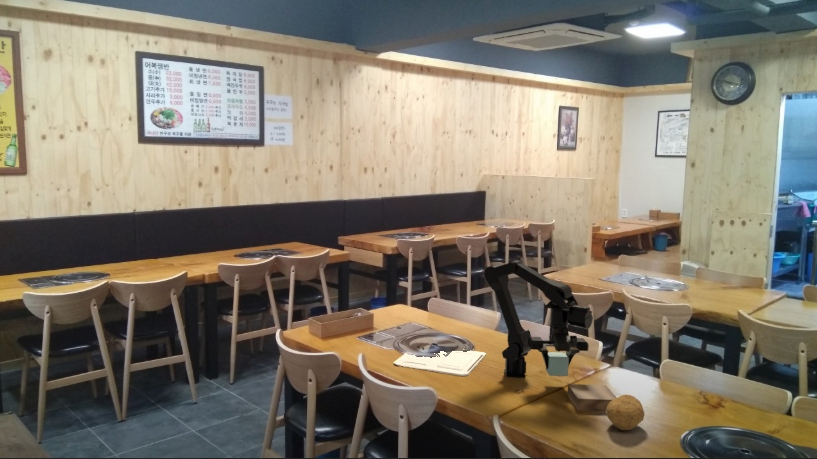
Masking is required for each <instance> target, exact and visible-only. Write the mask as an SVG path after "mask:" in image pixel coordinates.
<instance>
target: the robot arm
mask: <svg viewBox="0 0 817 459" xmlns="http://www.w3.org/2000/svg"><path fill="white" fill-rule="evenodd" d="M512 274H514V275H516V276H517V277H519V278H521V279H522V280H524V281H525V282H526V283H529V284H530V285H532V287H535V288H537V289H538V290H539V291H541V292H542V293H543V295H544V297H546V299H548V300H549V302H547V304H545V305H544V308H546V309H550V316H549V318H550V319H549V333H548V334H549V335H548V339H543V338H542V337H541V336H531V330H530V329H528V330H526V329H524V327H522V324H521V321H520V319H519V316H518V313H517V310H516V307H515V304H514V301H513V298H512V295H511V293H510V289H509V283H510V282H509V281H510V279H509V278H510V277H509V276H510V275H512ZM483 277H484V280H485V282H486V283H487V285H488V286H489V288H490V289H491V290H493V292H494V293H495V296H496V299H497V303H498V305H499V309H500V311H501V315H502V316H503V320H504V323H505V325H506V328H507V345H508V346H507V347H506V348H505V349H504V350H502V351H501V354H502V358H503V359H505V364H504V365H505V366H504V369H503V371H504V373H505V376H506V377H511V378H512V377H513V378H514V377H515V378H525V377H526V373H527V361H526V357H527V356H528V354H529V353H530V352H531V351H532V350H533V351H534V350H537V351H538V352H540V353H541V356H542V358H543V362H544V366H545V370H546V369H548V352H549V349H547V348H548V347H554V349H555V351H556V352H566V353H565V354H566V355H567V357H568V358H569V364H568V368H569V367H570V364H571V363H572V360H573V358H574V356H576V354H580V352H589V342H587V340H586V339H585V338H583V337H577V335H570V334H569V325H570V326H572V327H577V328H582V329H585V330H586V329H587V330H589V329H590V328H591V327H592V323H593V319H594V318H593V313H592V311H591V307H590V306H581V305H579V303H578V301H577V299H576V298H575V296H574V295H573V291H572V288H571V287H570V286H569V285H568V284H565V283H564V282H561V281H558V280H553V279H550V278H548V277H546V276H544V275H543V274H541V273H539V272H538V271H537V270H535V269H533V268H531V267H530V266H527V265H526V264H524V263H523V262H522V261H521V260H512V261H510V262H508V263H506V264H494V265H490V266H487V267H486V268H485V270H484V271H483Z"/></svg>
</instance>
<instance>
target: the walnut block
mask: <svg viewBox="0 0 817 459" xmlns="http://www.w3.org/2000/svg"><path fill="white" fill-rule="evenodd" d="M567 397H568V399H570V401H571V403H572V405H573V406H574V407H575V409H576V410H577V411H581V410H583V412H584V411H586V412H606V408H607V405H608V404H609V403H610V401H612V400H613V399H616V398H617V396H616V395H615V394H614V392H612V391H611V389H610V388H609V387H608V386H607V384H581V383H580V384H573V383H568V384H567Z"/></svg>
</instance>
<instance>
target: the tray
mask: <svg viewBox="0 0 817 459" xmlns="http://www.w3.org/2000/svg"><path fill="white" fill-rule="evenodd" d="M406 353H407V352H406ZM406 353H404V354H402V355H401V356H400V357H399V358H397V359H396V360H395V361H393V365H394V364H395V366H396V365H397V366H398V367H401V366H403V367H402V368H407V367H409V368H408V369H413V368H415V369H414V370H420V369H421V370H420V371H426V370H427V371H428V372H432V371H433V372H434V373H440V374H446V375H452V376H458V377H466V376H469V375H470V374H471V373H472V372H473V371H474V370H475V369H476V367H477V366H478V365H479V364H480V363H481V362H482V360H483V359H484V358H485V357H486V356H487V353H486V352H484V351H478V350H477V351H475V350H470V351H467V352H463V351H452V352H451V353H450V354H449V355H448V356H447V357H445V356H444V355H443V354H445V355H446V354H447V353H446V352H444V351H440V353H438V354H439V355H440V357H439V356H438V355H437V354H436V355H437V356H438V357H437V356H436V357H432V358H430V357H424V356H423V357H416V356H415V355H408V354H406ZM434 354H435V353H434ZM485 355H486V356H485ZM478 359H479V360H478ZM477 360H478V361H477ZM479 362H480V363H479ZM427 371H426V372H427Z"/></svg>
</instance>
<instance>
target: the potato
mask: <svg viewBox="0 0 817 459" xmlns="http://www.w3.org/2000/svg"><path fill="white" fill-rule="evenodd" d="M605 413H606V415H607V419H608V420H609V421H610V423H611V424H612V425H613V426H614V427H615V428H617V429H619V430H621V431H629V430H632V429H634V428H636V427H637V426H638V425H639V424H641V423H642V422H643V421H644V418H645V416H646V415H645V410H644V408H643V404H642V402H641V401H640V399H637V397H635V396H633V395H631V394H622V395H619V396H616V399H613V400H612V401H610V403H609V404H608V405H607V408H606V411H605Z"/></svg>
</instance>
